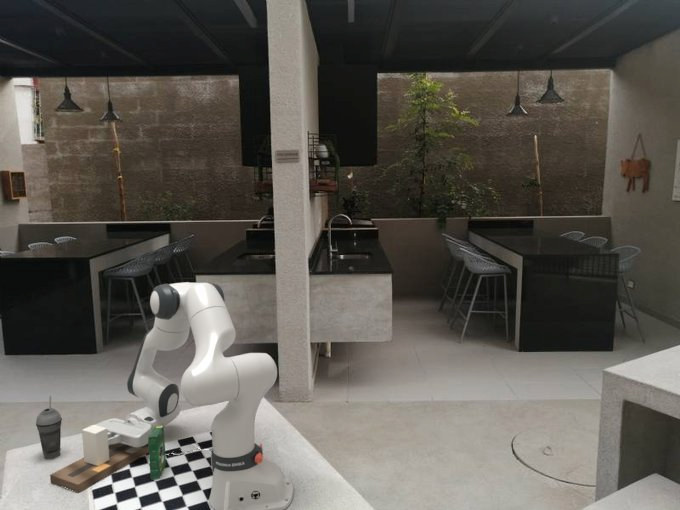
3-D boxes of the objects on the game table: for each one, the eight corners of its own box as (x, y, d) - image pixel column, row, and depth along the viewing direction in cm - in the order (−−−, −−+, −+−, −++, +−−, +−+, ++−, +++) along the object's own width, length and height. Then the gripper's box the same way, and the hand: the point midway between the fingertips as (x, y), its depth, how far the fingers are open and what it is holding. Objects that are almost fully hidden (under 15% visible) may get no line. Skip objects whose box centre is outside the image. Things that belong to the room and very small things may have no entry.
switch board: (124, 443, 177) (123, 436, 176) (150, 451, 171) (150, 443, 171) (50, 482, 154) (50, 474, 153) (78, 493, 148) (77, 484, 148)
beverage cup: (47, 450, 173) (42, 391, 171) (69, 450, 173) (64, 391, 170) (34, 461, 166) (28, 400, 164) (56, 461, 166) (51, 400, 163)
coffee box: (157, 465, 162) (154, 424, 161) (166, 465, 162) (164, 424, 161) (149, 480, 154) (146, 436, 153) (160, 479, 154) (157, 436, 153)
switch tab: (95, 455, 163) (93, 424, 162) (109, 459, 161) (107, 428, 159) (84, 461, 160) (81, 429, 159) (98, 466, 157) (95, 433, 156)
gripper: (114, 410, 178) (78, 427, 166) (160, 421, 169) (124, 439, 157) (116, 428, 179) (79, 446, 167) (161, 440, 170) (126, 460, 157)
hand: (101, 443), depth 162 cm, fingers closed, pressing on switch tab
